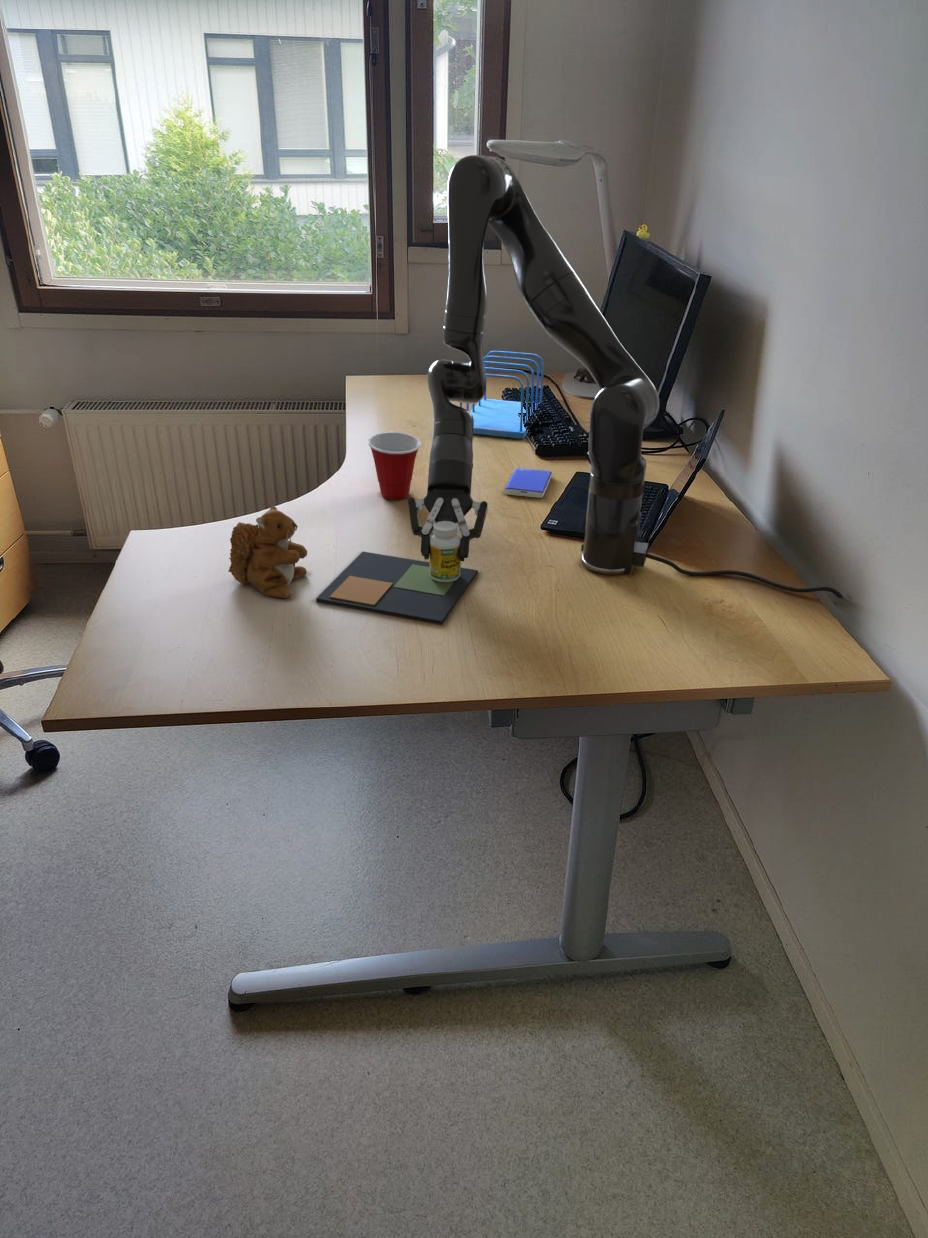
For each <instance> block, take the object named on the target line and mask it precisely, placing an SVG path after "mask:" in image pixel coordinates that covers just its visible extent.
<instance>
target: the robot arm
mask: <svg viewBox="0 0 928 1238" xmlns="http://www.w3.org/2000/svg"><path fill="white" fill-rule="evenodd" d="M446 195H447V196H446V197H447V223H448V224H447V226H448V229H447V230H448V278H447V290H446V291H447V292H446V294H447V295H446V300H445V301H446V302H445V309H444V316H443V317H444V319H443V327H442V342H443V343H444V345H445V346H447V347H449V348H451V349H454V350H457V351H459V352H462V353H463V354H465V355H466V357H468V360H469V362H468V361H467V362H466V361H459V360H452V359H438V360H435V361H434V362H433V363H431V365H430V366H429V368H428V370H427V375H426V383H427V388H428V389H427V390H428V393H429V397H430V401H431V406H432V412H433V429H432V431H433V432H432V444H431V448H430V452H429V464H428V474H427V475H428V476H427V488H426V493H425V495H424V497H423V498H420V499H415V498H414V497H410V498H409V499H408V501H407V504H408V512H409V519H410V527H411V531H412V534H413V535H414V536H419V537H420V538H421V540H420V554H421V556H422V557H423V558H424V561H425V560H427V561H430V538H431V536H432V535H433V526H434V524H435V523H437V522H440V521H450V522H454V523H455V524H456V525H457V528H458V530H459V531H460V533H461V536H460V539H461V544H460V561H461V562H465V559H468V558H469V556H470V555H469V554H470V542H471V540H474V539H479V538H480V537H481V536H482V532H483V528H484V525H485V521H486V517H487V514H488V510H489V509H488V506H489V505H488V501H485V500H483V501H475V500H474V499H473V498H472V481H473V469H474V448H473V446H474V445H473V442H474V434H473V429H474V418H473V415H472V414H471V413H470V410H469V411H468V410H466V408H464V407H462V408H461V407H460V405H459V406H458V405H456V404H454V403H460V402H461V403H462V404H467V403H469V405H470V404H471V405H473V404H475V405H476V404H478V402H479V401H480V400H482V399H484V394H485V392H486V393H487V380H486V375H485V368H484V367H485V364H484V362H483V361H484V360H483V358H484V353H483V351H484V350H483V347H484V346H483V343H484V341H483V340H484V331H485V324H486V316H487V310H488V309H487V308H488V288H487V280H486V279H487V278H486V274H485V264H484V245H485V237H486V231H487V227H488V225H489V227H490V229H492V231H493V232H494V234H495V235H496V236H497V237H498V240H500V242H501V243H502V245H503V247H504V249H505V251H506V252H507V254H508V256H509V258H510V262H511V265H512V268H513V272H514V276H515V280H516V283H517V287H518V289H519V292H520V295H521V296H522V299H523V301H524V303H525V305H526V306H527V308H528V309H529V311H530V313H531V314H532V316H533V317H534V319H535V320H536V321H537V323H538V325H539V326H540V327H541V329H542V330H543V331H544V333H546V334H547V336H548V337H549V338H550V339H552V340H553V342H555V343H556V344H557V345H559V346H560V347H561V348H562V349H563V350H565V351H566V352H567V353H568V354H570V355H571V356H572V357H574V358H575V359H576V360H577V361H579V362H580V364H582V366H583V367H584V368H585V369H586V370H587V372H588V373H589V374H590V375H591V377H592V379H593V380H594V382H595V384H596V385H597V387H598V389H599V391H598V392H596V394H595V396H594V398H593V401H592V403H591V408H590V414H589V415H590V416H589V431H588V447H587V448H588V458H589V461H590V474H589V485H588V495H587V505H586V506H587V507H586V514H585V515H586V517H585V525H584V526H585V527H584V537H583V544H581V547H580V553H582V555H581V564H582V566H583V567H584V568H586V569H587V570H589V571H590V572H593V573H596V574H601V575H608V576H618V575H631V574H632V572H633V570H634V568H635V566H636V567H642V568H644V567H645V563H646V561H647V559H650V560H654V561H656V562H660V563H662V564H664V565H667V566H669V567H671V568H673V569H674V570H675V571H677V572H679V573H680V574H682V575H686V576H691V577H708V576H719V575H721V576H722V575H732V576H741V577H746V578H749V579H752V580H756V581H758V582H762V583H763V584H767V585H769V586H771V587H774V588H777V589H781V590H784V591H788V592H793V593H801V594H802V593H803V594H804V593H813V592H830V593H832V594H834V595H835V596H836V597H837V598H841V599H842V598H843V597H844V596H843V595H842V593H841V592H840V591H838V590H837V589H835V588H833V587H831V586H825V585H824V586H821V585H820V586H812V587H794V586H789V585H785V584H781V583H779V582H775V581H773V580H770V579H768V578H765V577H762V576H760V575H756V574H753V573H749V572H745V571H740V570H733V569H720V570H710V571H692V570H687V569H683V568H681V567H680V566H678V565H677V564H675V563H674V562H673V561H671V560H668V559H666V558H664V557H660V556H657V555H653V554H651V553H649V545H650V543H647V542H641V541H639V537H640V529H641V523H642V516H643V515H642V512H641V511H642V510H641V509H642V503H643V502H642V501H643V495H644V486H645V479H646V478H645V477H646V470H647V460H646V458H645V457H644V456H643V455H642V448H643V447H642V445H643V435H644V430H645V428H648V426H650V425H651V424H652V423H653V422H654V421H655V420H656V419H657V416H658V414H659V411H660V405H661V404H660V396H659V392H658V389H656V387H655V385H654V383H653V382H652V381H651V379H650V378H649V377H648V375H647V374H646V373H645V372H644V370H642V368H641V367H640V366H639V365H638V363H637V362H636V360H635V359H634V358H633V357H632V356H631V355H630V353H629V352H628V351H627V350H626V349H625V347H624V346H623V345H622V343H621V342H620V341H619V339H618V337H617V336H616V334H615V333H614V331H613V329H612V327H611V326H610V325H609V323H608V321H607V320H606V318H605V317H604V315H603V314H602V312H601V311H600V308H598V307H597V304H596V302H595V301H594V299H593V298H592V296H591V295H590V293H589V291H588V290H587V288H586V286H585V285H584V283H583V282H582V280H581V279H580V277H579V276H578V275H577V273H576V271H575V270H574V268H573V267H572V265H571V264H570V263H569V261H568V260H567V259H566V257H565V255H564V254H563V252H562V251H561V249H560V248H559V247H558V244H557V243H556V242H555V240H554V239H553V238H552V236H551V235H550V233H549V232H548V230H547V229H546V228H545V227H544V225H543V223H542V221H541V220H540V218H539V217H538V215H537V214H536V212H535V209H534V208H533V206H532V204H531V202H530V200H529V198H528V196H527V194H526V193H525V190H524V188H523V186H522V184H521V182H520V179H519V178H518V176H517V175H516V173H515V171H514V170H513V169H512V167H511V166H510V164H509V163H507V162H506V161H505V159H502V158H500V157H498V156H493V155H481V154H471V155H466V156H464V157H462V158H460V159H458V161H457V162H456V163H455V164H454V165H453V166H452V168H451V169H450V172H449V175H448V180H447V191H446ZM423 507H425V509H426V510H427V511H428V513H429V514H428V516H427V518H426V521H425V523H424V525H423V526H420V523H419V522H420V521H419V515H418V514H419V513H421V512H422V508H423ZM471 509H473V510H474V514H475V515H476V518H475V522H474V525H473V528H470V529H469V527H468V526H469V525H468V524H467V522H466V518H465V516H466V515H467V514H468V513H469V512H470V511H471Z"/></svg>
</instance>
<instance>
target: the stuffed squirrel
mask: <svg viewBox="0 0 928 1238" xmlns="http://www.w3.org/2000/svg"><path fill="white" fill-rule="evenodd" d="M255 522H256V524H252V523H251V522H250V523H249V522H248V523H245V522H240V521H239V522H238V523H237V524H236V526H234V527H232V531H231V533H230V534H231V537H230V538H229V541H230V545H231V548H230V552H229V555H230V557H228V559H229V560H230V561H229V562H230V566H229V567H228V568H229V569H228V570H227V572H229V573H231V576H233V578H234V579H235V581H237V582H238V583H239V584H243V585H248V584H251V585H252V586H254V588H255V589H257V590H258V591H259V592H260V593H261V594H263V595H264V596H267V597H273V598H279V599H288V598H290V597H291V595H292V591H291V588H290V586H289V585H290V583H291V582H292V581H293V580H296V579H298V578H301V577H304V576H306V575H307V574H308V571H307V569H306V567H304V566H302V565H297V566H296V564H297V563H298V562H299V561H300V559H301V560H302V559H305V558H306V557H307V556H308V550H307V548H306V547H305V546H304V545H303V544H301V543H296V542H293V541H292V537H293V536H294V534H295V533H296V532H297V531H298V528H299V526H298V525H297V523H296V522H295V520H294V519H293V518H291V517H290V516H288V515H287V514H286V513H284V512H283V511H281V510H278V508H277V507H276V506H275V505H274V506H271V507H270V509H268V510H267V511H266V512H264V513H263V514H262V515H261V516H258V517H256V519H255Z"/></svg>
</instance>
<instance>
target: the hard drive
mask: <svg viewBox="0 0 928 1238" xmlns="http://www.w3.org/2000/svg"><path fill="white" fill-rule="evenodd" d="M552 475H553V471H550V470H544V469H543V470H542V469H532V468H522V467H516V468H515V469H514V471H513V473H512V474H511V476H510V478H509V481H508V482H507V484H506V486H505V488H504V494H505V495H508V496H519V497H527V498H537V499H542V498H543V497H544V495H545V493H546V490H547V488H548V487H549V484H550V481H551V479H552Z"/></svg>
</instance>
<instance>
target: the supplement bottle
mask: <svg viewBox="0 0 928 1238" xmlns="http://www.w3.org/2000/svg"><path fill="white" fill-rule="evenodd" d="M460 544H461V536H460V535H459V534H458V524H457V523H456V524H455V523H454V522H450V521H440V522H437V523H435V524H434V526H433V532H432V534H431V536H430V554H429V562H430V577H431V578H432V579H433V580H435V581H438V582H444V583H446V582H453V581H455V580H457V579H458V578H459V576H460V568H462V567H461V565H462V563H461V562H462V561H460Z"/></svg>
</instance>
